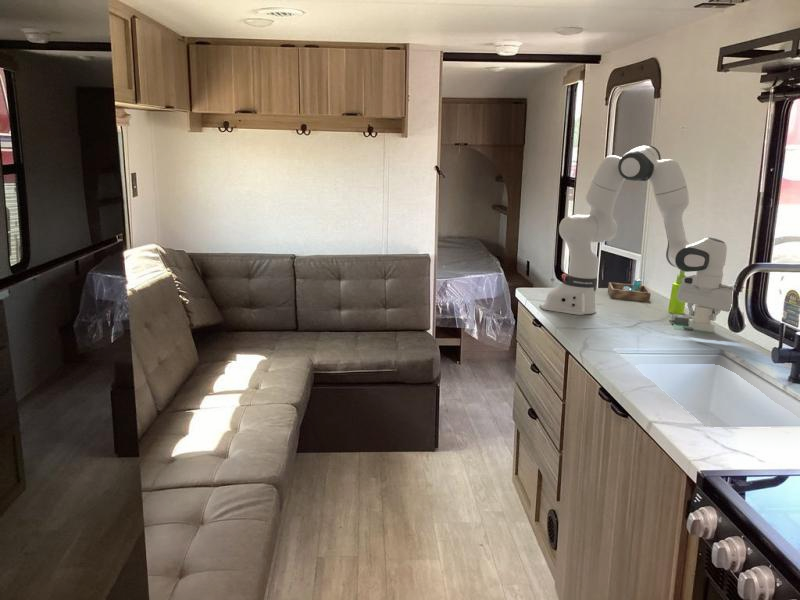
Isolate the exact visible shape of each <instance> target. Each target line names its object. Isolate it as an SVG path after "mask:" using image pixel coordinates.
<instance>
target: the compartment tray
mask: <svg viewBox="0 0 800 600" xmlns="http://www.w3.org/2000/svg"><path fill="white" fill-rule="evenodd" d="M671 327H673V329H674V330H675V331H676V330H677V331H685V332H696V333H704V334H712V335H715V334H716V332H715V331H714V330H715V324H714V323H712V321H711V322H710V324H701V323H694V322H693V318H690V319H689V321H688V325H684V324H675V323H674V325H672V324H671Z"/></svg>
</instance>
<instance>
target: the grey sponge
mask: <svg viewBox="0 0 800 600" xmlns="http://www.w3.org/2000/svg"><path fill="white" fill-rule="evenodd" d="M671 315H672V316H671V319H668V322H669V323H670V324H671V326H672V325H674V323H675V324H684V325H688V321H689V319H691V318H690V316H689V314H674V313H671Z"/></svg>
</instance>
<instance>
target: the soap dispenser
mask: <svg viewBox="0 0 800 600" xmlns="http://www.w3.org/2000/svg"><path fill="white" fill-rule="evenodd" d="M679 270H680V269H679ZM685 273H686V272H685V271H682V270H680V271H679V274H677V276H676V281H675V282H672V284H671V285H672V286H671V293H670V298H669V305H668V310H667V311H668V313H670V314H680V315H684V313H685V306H686V302H681V301H678V299H677V293H678V289H679V286H680V285H681V284H682V278H684V277H687V275H685Z"/></svg>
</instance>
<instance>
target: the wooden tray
mask: <svg viewBox="0 0 800 600" xmlns="http://www.w3.org/2000/svg"><path fill="white" fill-rule="evenodd" d="M625 286H628V287H630V288H631V289H633V284H630V283H621V282H620V283H619V282H608V286H607V293H608V294H610V295H609V297H610V299H616V300H617V299H619V300H628V301H629V300H630V301H638V302H639V301H640V302H646V303H647V302H649V303H650V299H651V291H650V290H649V289H648V287H647V286H646V285H642V286H641V292H638V291H628V290H622V289H623V287H625Z"/></svg>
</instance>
